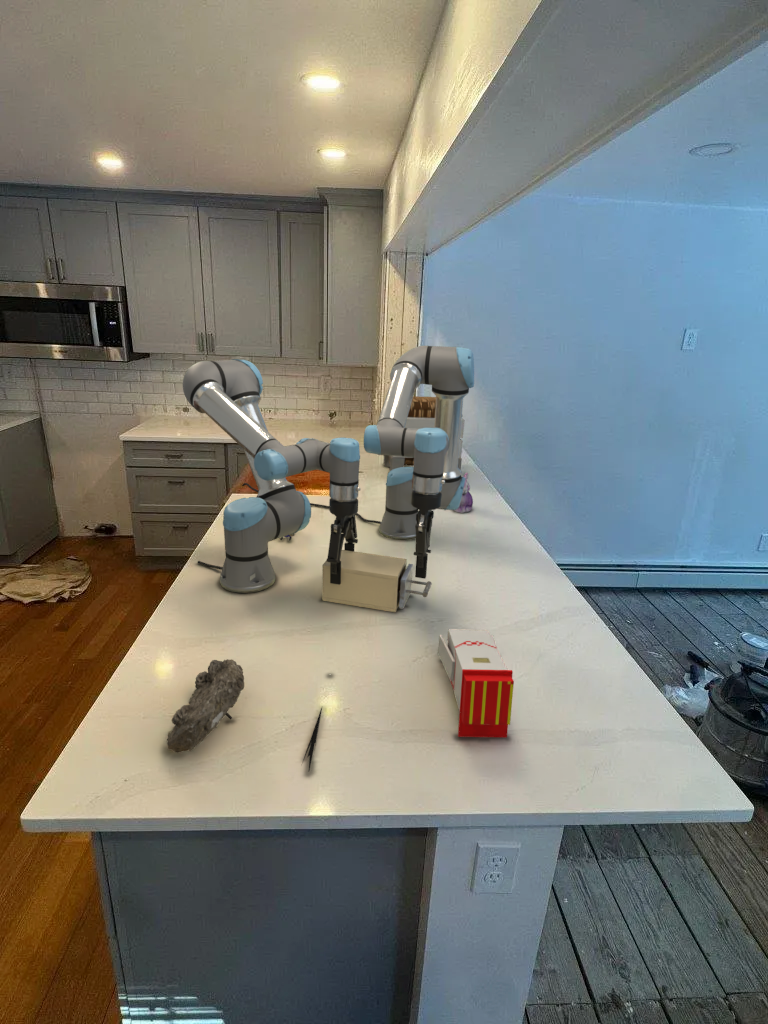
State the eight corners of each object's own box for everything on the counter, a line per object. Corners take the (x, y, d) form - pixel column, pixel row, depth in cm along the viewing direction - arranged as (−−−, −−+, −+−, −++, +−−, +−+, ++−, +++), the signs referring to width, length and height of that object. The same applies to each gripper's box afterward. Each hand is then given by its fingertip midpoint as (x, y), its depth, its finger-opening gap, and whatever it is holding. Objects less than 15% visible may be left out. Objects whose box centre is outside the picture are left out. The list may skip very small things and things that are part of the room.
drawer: (431, 595, 156) (434, 567, 153) (425, 612, 147) (427, 583, 144) (345, 581, 161) (346, 554, 158) (334, 597, 152) (334, 569, 149)
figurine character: (295, 547, 188) (300, 526, 202) (294, 527, 185) (300, 506, 198) (274, 546, 188) (281, 525, 201) (273, 526, 185) (280, 506, 198)
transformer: (382, 463, 289) (386, 382, 275) (445, 464, 293) (451, 384, 279) (390, 482, 257) (394, 392, 243) (460, 483, 261) (468, 394, 247)
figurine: (459, 514, 221) (463, 477, 216) (445, 506, 229) (448, 470, 224) (479, 511, 225) (483, 475, 220) (464, 503, 234) (467, 468, 228)
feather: (331, 679, 122) (336, 673, 122) (307, 777, 96) (313, 769, 95) (324, 675, 122) (329, 669, 121) (298, 772, 95) (304, 764, 95)
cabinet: (404, 593, 159) (406, 558, 155) (395, 612, 148) (397, 576, 145) (335, 582, 163) (336, 548, 159) (322, 600, 152) (322, 565, 149)
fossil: (192, 660, 117) (244, 628, 112) (224, 691, 120) (276, 661, 115) (142, 746, 98) (202, 712, 93) (182, 779, 101) (242, 748, 96)
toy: (488, 613, 130) (523, 677, 101) (484, 667, 133) (517, 744, 104) (435, 612, 130) (455, 676, 101) (432, 666, 133) (451, 743, 103)
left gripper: (343, 514, 136) (342, 595, 143) (369, 486, 158) (367, 558, 165) (314, 510, 137) (314, 591, 145) (344, 483, 159) (342, 555, 167)
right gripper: (437, 500, 135) (430, 589, 142) (445, 485, 147) (438, 568, 154) (406, 496, 136) (401, 585, 144) (416, 482, 148) (411, 565, 156)
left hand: (342, 573), depth 155 cm, fingers closed on cabinet, 11 cm apart
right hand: (420, 576), depth 149 cm, fingers closed
